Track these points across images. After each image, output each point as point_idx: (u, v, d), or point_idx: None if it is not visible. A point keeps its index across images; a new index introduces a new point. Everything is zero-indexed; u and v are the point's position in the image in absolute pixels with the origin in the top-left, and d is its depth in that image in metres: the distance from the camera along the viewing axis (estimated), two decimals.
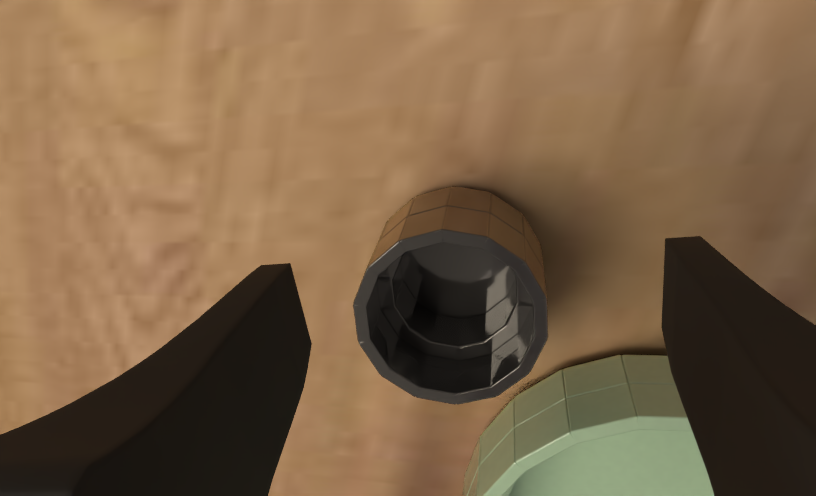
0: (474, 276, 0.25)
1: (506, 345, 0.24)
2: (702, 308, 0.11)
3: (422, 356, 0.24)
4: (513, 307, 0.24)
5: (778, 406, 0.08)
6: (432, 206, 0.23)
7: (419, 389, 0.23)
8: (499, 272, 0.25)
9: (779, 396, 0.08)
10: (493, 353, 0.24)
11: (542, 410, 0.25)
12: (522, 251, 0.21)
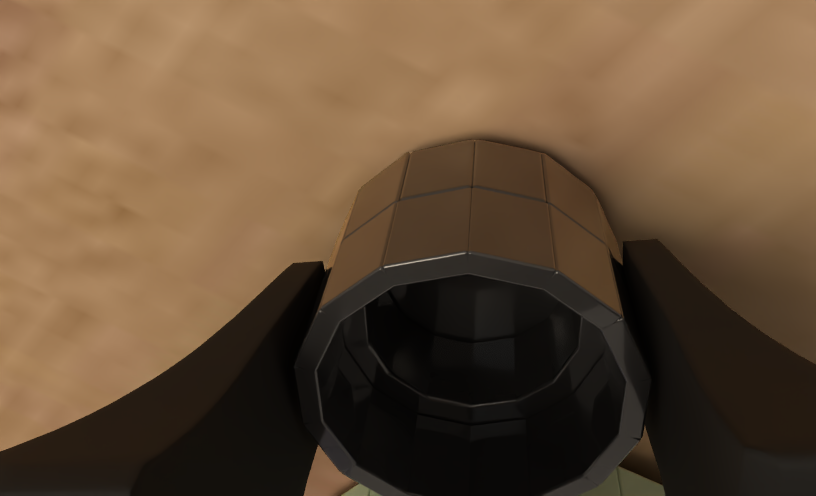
0: (488, 290, 0.16)
1: (502, 430, 0.15)
2: (652, 311, 0.11)
3: (367, 391, 0.14)
4: (542, 382, 0.14)
5: (708, 407, 0.08)
6: (518, 185, 0.12)
7: (354, 465, 0.13)
8: (528, 301, 0.16)
9: (709, 398, 0.08)
10: (471, 426, 0.15)
11: None
12: (644, 348, 0.12)
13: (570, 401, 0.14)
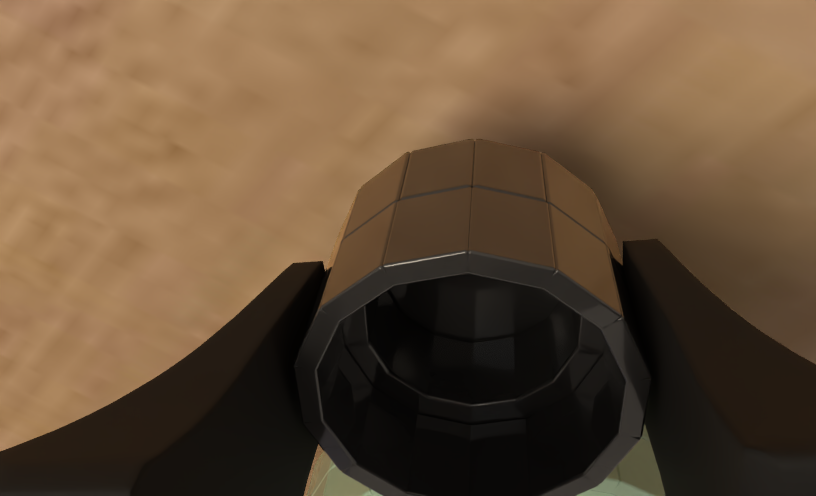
0: (488, 290, 0.16)
1: (502, 429, 0.15)
2: (652, 311, 0.11)
3: (367, 391, 0.14)
4: (542, 382, 0.14)
5: (708, 408, 0.08)
6: (518, 185, 0.12)
7: (355, 465, 0.13)
8: (527, 301, 0.16)
9: (709, 398, 0.08)
10: (471, 425, 0.15)
11: None
12: None
13: (570, 400, 0.14)
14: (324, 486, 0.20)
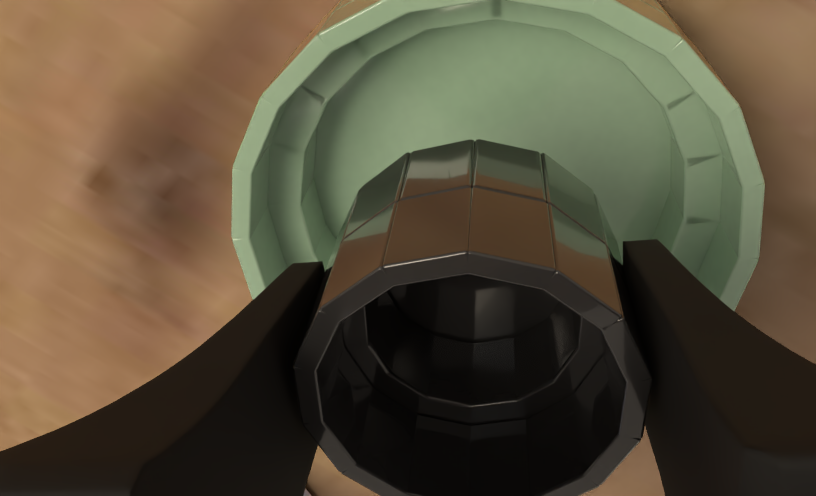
0: (488, 290, 0.16)
1: (502, 430, 0.15)
2: (651, 310, 0.11)
3: (367, 392, 0.14)
4: (542, 383, 0.14)
5: (708, 407, 0.08)
6: (518, 186, 0.12)
7: (355, 466, 0.13)
8: (527, 301, 0.16)
9: (709, 398, 0.08)
10: (471, 426, 0.15)
11: None
12: (644, 348, 0.12)
13: (570, 401, 0.14)
14: None
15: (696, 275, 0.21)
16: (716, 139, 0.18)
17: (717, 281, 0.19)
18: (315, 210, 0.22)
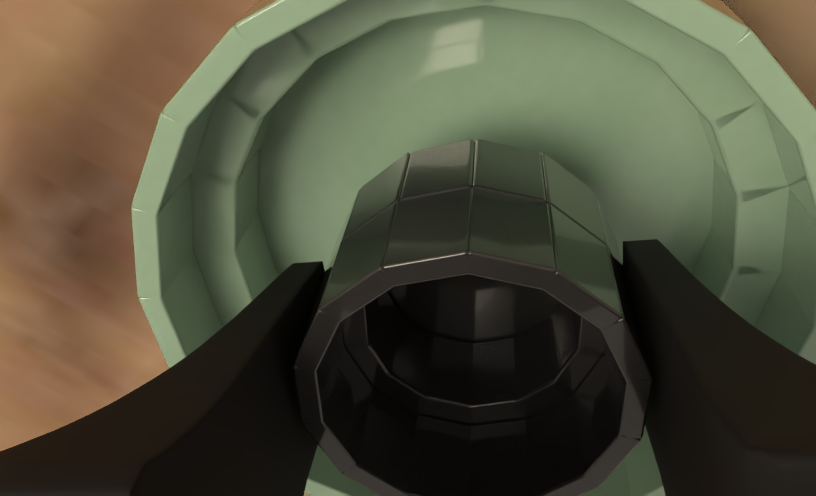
0: (488, 290, 0.16)
1: (502, 430, 0.15)
2: (652, 310, 0.11)
3: (367, 392, 0.14)
4: (542, 383, 0.14)
5: (708, 408, 0.08)
6: (518, 186, 0.12)
7: (355, 466, 0.13)
8: (528, 302, 0.16)
9: (709, 398, 0.08)
10: (472, 426, 0.15)
11: None
12: (644, 348, 0.12)
13: (570, 401, 0.14)
14: None
15: None
16: (781, 166, 0.14)
17: None
18: (259, 252, 0.17)
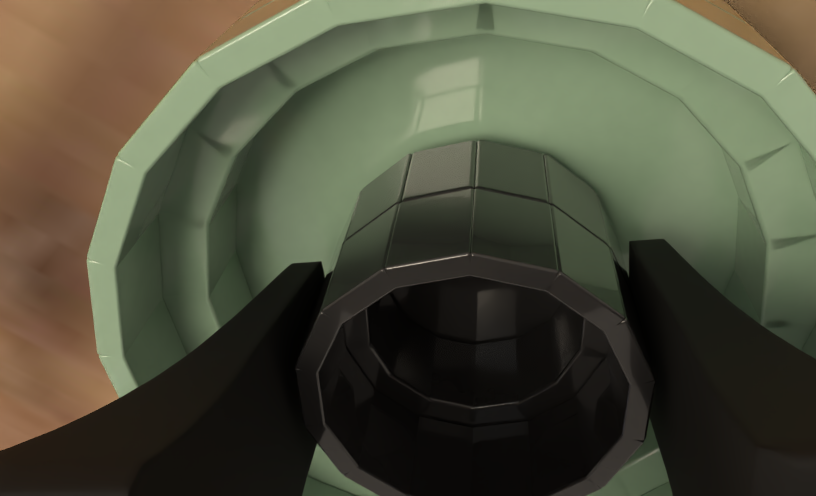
0: (490, 291, 0.16)
1: (504, 432, 0.14)
2: (659, 310, 0.11)
3: (369, 393, 0.14)
4: (545, 384, 0.14)
5: (719, 408, 0.08)
6: (521, 187, 0.12)
7: (357, 468, 0.13)
8: (530, 302, 0.16)
9: (720, 398, 0.08)
10: (473, 428, 0.15)
11: None
12: (647, 350, 0.12)
13: (573, 403, 0.14)
14: None
15: None
16: None
17: None
18: (237, 296, 0.16)
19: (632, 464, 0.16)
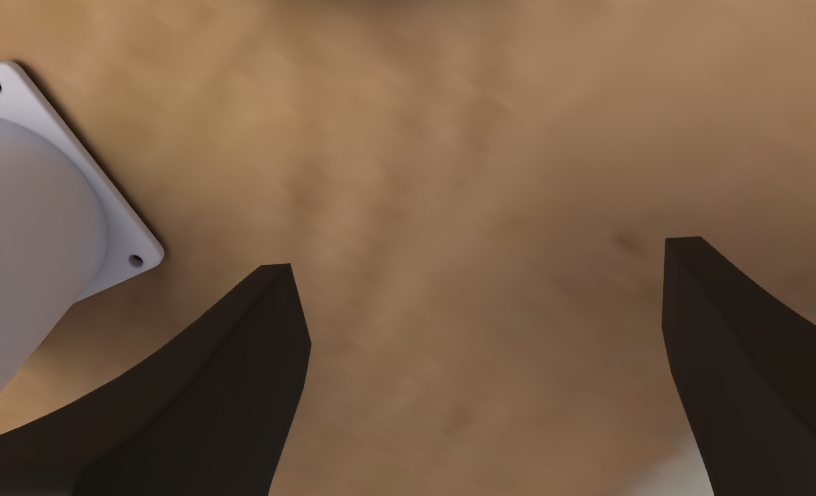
0: None
1: None
2: (702, 308, 0.11)
3: None
4: None
5: (778, 405, 0.08)
6: None
7: None
8: None
9: (779, 396, 0.08)
10: None
11: None
12: None
13: None
14: None
15: None
16: None
17: None
18: None
19: None
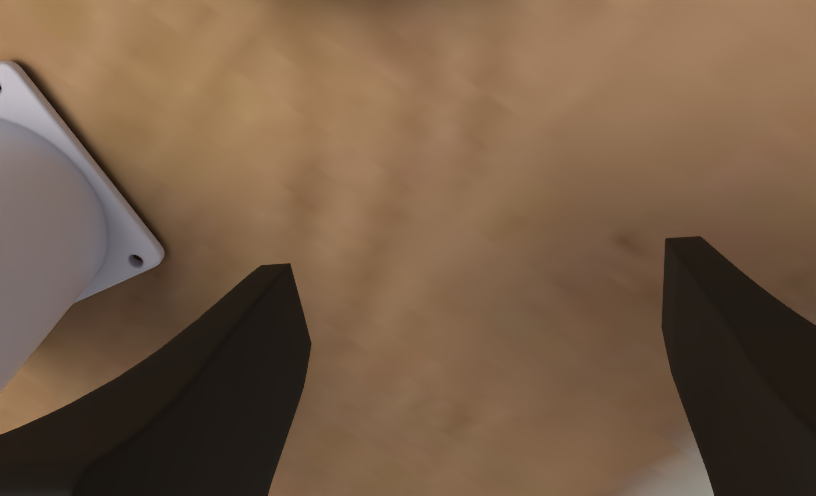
0: None
1: None
2: (702, 308, 0.11)
3: None
4: None
5: (778, 406, 0.08)
6: None
7: None
8: None
9: (779, 396, 0.08)
10: None
11: None
12: None
13: None
14: None
15: None
16: None
17: None
18: None
19: None
